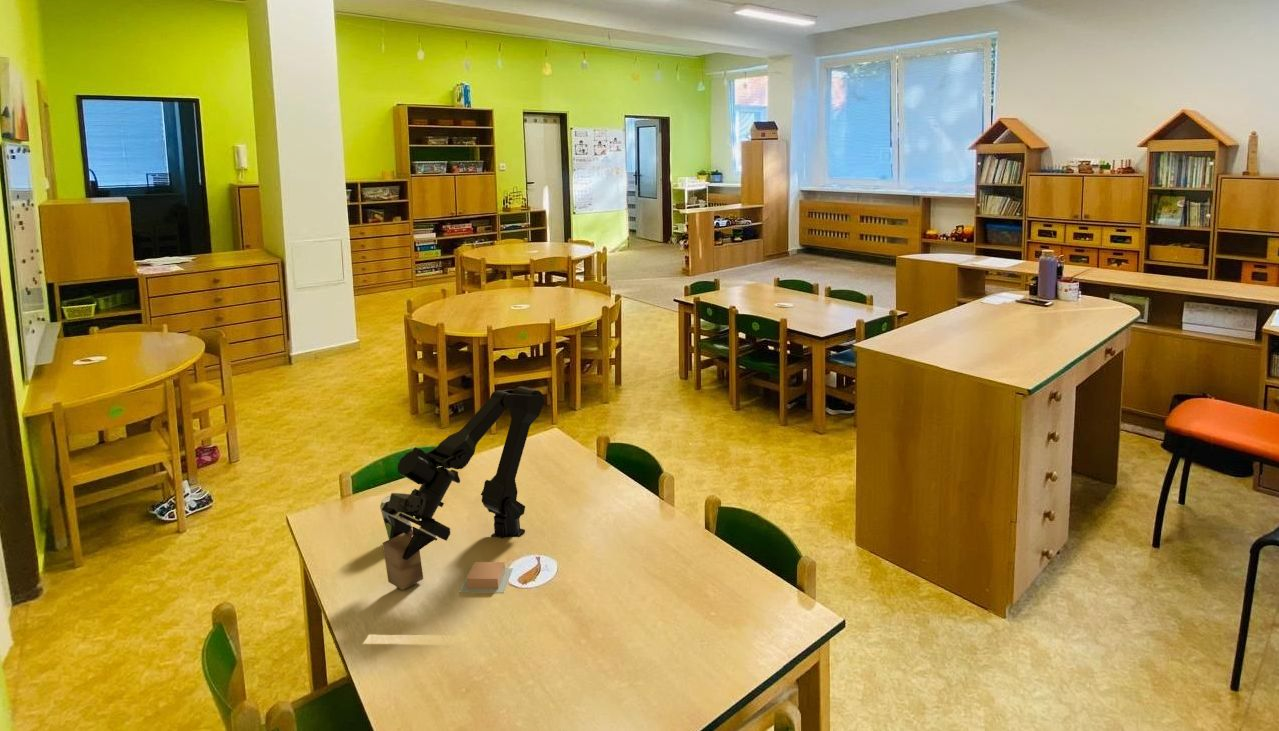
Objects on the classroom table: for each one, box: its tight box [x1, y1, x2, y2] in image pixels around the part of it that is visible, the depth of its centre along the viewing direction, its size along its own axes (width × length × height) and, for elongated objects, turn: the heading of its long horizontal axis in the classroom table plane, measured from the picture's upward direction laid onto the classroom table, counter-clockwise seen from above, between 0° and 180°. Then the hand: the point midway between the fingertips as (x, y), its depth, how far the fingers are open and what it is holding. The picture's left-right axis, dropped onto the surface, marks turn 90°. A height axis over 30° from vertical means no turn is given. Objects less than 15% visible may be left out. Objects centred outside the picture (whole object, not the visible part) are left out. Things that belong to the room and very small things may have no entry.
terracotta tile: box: [466, 561, 506, 589], centre depth 174 cm, size 7×7×2 cm
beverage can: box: [379, 495, 413, 539], centre depth 195 cm, size 6×7×12 cm
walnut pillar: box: [382, 533, 424, 591], centre depth 173 cm, size 6×6×10 cm
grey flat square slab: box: [458, 567, 514, 594], centre depth 175 cm, size 10×10×2 cm
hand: (396, 555), depth 171 cm, fingers closed on walnut pillar, 5 cm apart
